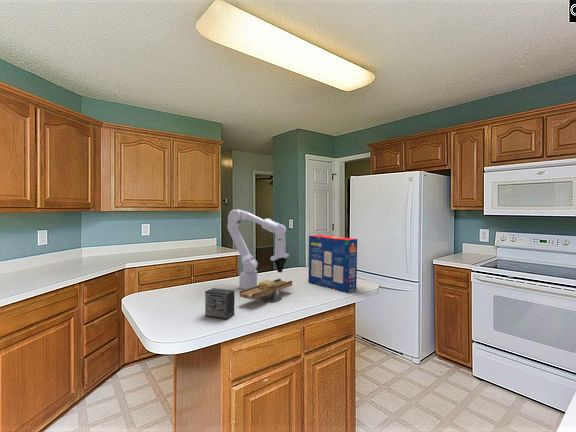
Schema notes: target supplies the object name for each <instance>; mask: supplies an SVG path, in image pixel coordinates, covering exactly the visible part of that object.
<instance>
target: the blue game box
mask: <svg viewBox="0 0 576 432" xmlns="http://www.w3.org/2000/svg"><path fill="white" fill-rule="evenodd" d="M357 269H358V238H350V237H341V236H332V235H330V236H329V235H323V234H316V235H315V234H314V235H308V282H307V283H308V284H311V285H314V284H315V285H316V286H318V287H322V288H326V287H327V288H326V289H329V288H330V290H333V289H334V291H337V290H338V292H341V293H344V292H345V293H344V294H350V293H352V291H353V292H356V291H357V284H358V283H357V281H358V280H357V278H358V277H357V276H358V274H357V273H358V272H357V271H358V270H357ZM355 290H356V291H355Z"/></svg>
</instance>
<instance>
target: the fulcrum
mask: <svg viewBox="0 0 576 432" xmlns="http://www.w3.org/2000/svg"><path fill="white" fill-rule="evenodd" d="M282 299H283V297H282V296H280V290H274V291H273V293H271V294H268V295H265V296H262V297H260V298H257V299H256V300H258V301H262V302H268V303H270V304H274V303H277V302H279V301H281V300H282Z"/></svg>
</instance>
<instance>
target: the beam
mask: <svg viewBox="0 0 576 432" xmlns="http://www.w3.org/2000/svg"><path fill="white" fill-rule="evenodd" d="M273 281H274V282H275V286H274V287H271V288H268V289H265V290H263V289H259V284H257V286H254V287H251V288H248V289H241V290H239V297H240V298H243V299H248V300H253V301H254V300H258V299H257V298H260V297H262V296H265V295H268V294H271V293H273V291H274V290H279V291H281V290H283V289H286V288H290V287H292V286H293V280H289V281H285V280H282V279H281V278H277V279H275V280H273Z"/></svg>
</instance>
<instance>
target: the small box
mask: <svg viewBox="0 0 576 432" xmlns="http://www.w3.org/2000/svg"><path fill="white" fill-rule="evenodd" d="M204 293H205V294H204V295H205V298H204V299H205V303H204V304H205V308H204V309H205V311H204V312H205V314H204V317H206V318H212V319H213V318H214V319H221V320H225V321H227V320H229V319H230V318H232V317H234V316H235V297H236V296H235V290H234V289H225V288H215V287H213V288H211V289H207V290H205V292H204Z"/></svg>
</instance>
